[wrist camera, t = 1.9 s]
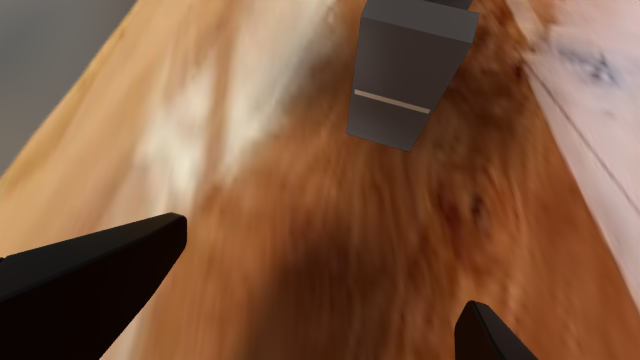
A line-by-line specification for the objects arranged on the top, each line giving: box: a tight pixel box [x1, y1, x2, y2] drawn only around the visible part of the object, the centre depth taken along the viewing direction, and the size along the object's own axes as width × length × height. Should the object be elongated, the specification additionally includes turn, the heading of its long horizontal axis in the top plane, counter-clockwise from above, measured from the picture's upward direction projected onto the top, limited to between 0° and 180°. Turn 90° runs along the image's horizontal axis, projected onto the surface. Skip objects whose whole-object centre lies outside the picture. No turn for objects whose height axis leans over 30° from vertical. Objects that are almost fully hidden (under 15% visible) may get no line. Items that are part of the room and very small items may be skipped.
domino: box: [346, 0, 479, 152], centre depth 20 cm, size 2×5×11 cm, turn 71°
